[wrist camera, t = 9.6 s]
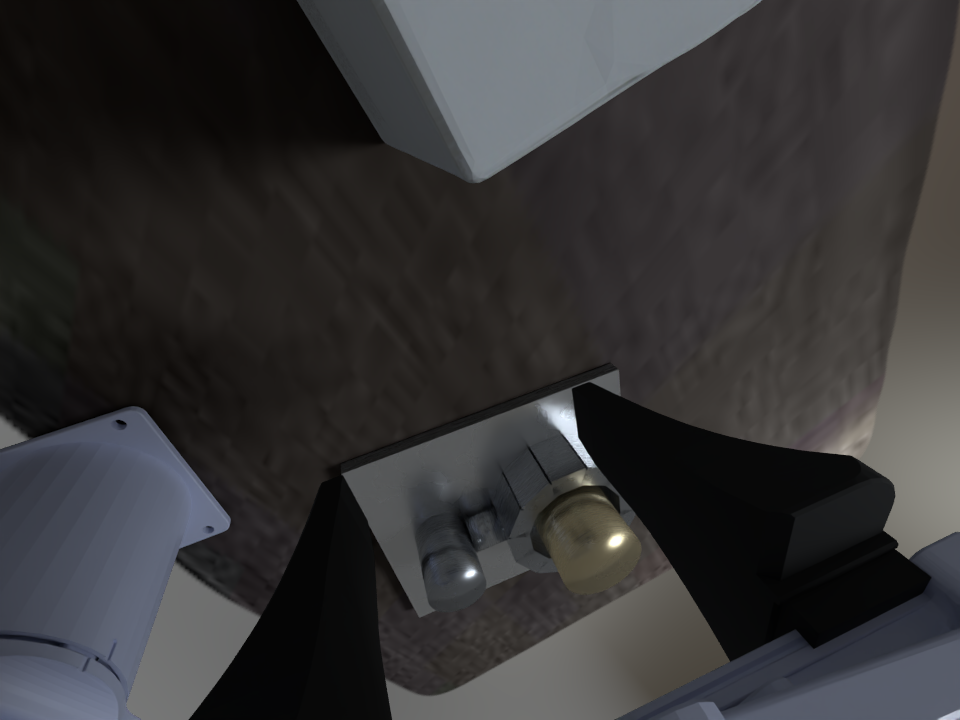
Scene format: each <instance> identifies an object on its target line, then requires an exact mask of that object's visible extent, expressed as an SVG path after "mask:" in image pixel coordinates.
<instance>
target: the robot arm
mask: <svg viewBox="0 0 960 720" xmlns="http://www.w3.org/2000/svg"><path fill="white" fill-rule="evenodd" d="M572 395H573V403H574V410H575V417H576V425H577V432H578V438H579V440H580V441H581V443H582V445H583V446H584V448H585V449H586V451H587V453H588V454H589V456H590V457H591V459H592V460H593V462H594V464H595V465H596V466H597V467H598V469H599V470H600V471H601V472H602V474H603V475H604V476H605V477H606V478H607V480H608V481H609V482H610V483H611V485H612V486H613V487H614V488H615V489H616V491H617V492H618V493H619V494H620V495H621V497H622V498H623V499H624V500H625V501H626V503H627V504H628V505H629V506H630V507H631V509H632V510H633V511H634V512H635V514H636V515H637V516H638V517H639V518H640V520H641V521H642V522H643V524H644V525H645V526H646V528H647V529H648V530H649V532H650V533H651V535H652V536H653V538H654V539H655V541H656V542H657V544H658V545H659V547H660V548H661V550H662V551H663V553H664V554H665V555H666V557H667V558H668V560H669V562H670V563H671V565H672V566H673V568H674V569H675V571H676V572H677V574H678V575H679V577H680V579H681V580H682V582H683V583H684V585H685V586H686V588H687V590H688V591H689V593H690V595H691V596H692V598H693V599H694V601H695V603H696V604H697V606H698V608H699V609H700V611H701V613H702V614H703V616H704V617H705V619H706V621H707V622H708V624H709V626H710V627H711V629H712V631H713V633H714V634H715V636H716V638H717V639H718V641H719V642H720V645H721V646H722V648H723V650H724V651H725V653H726V655H727V657H728V658H729V660H730V662H729V663H727V664H725V665H723V666H721V667H719V668H717V669H715V670H713V671H711V672H710V673H707V674H705V675H703V676H701V677H699V678H697V679H695V680H693V681H691V682H689V683H687V684H685V685H683V686H681V687H679V688H677V689H675V690H673V691H671V692H669V693H667V694H665V695H663V696H661V697H659V698H657V699H655V700H653V701H651V702H649V703H647V704H645V705H643V706H641V707H639V708H637V709H635V710H633V711H631V712H629V713H627V714H625V715H623V716H622V717H619V718H617V719H615V720H960V532H955V533H953V534H951V535H949V536H946V537H944V538H943V539H941V540H938V541H936V542H934V543H932V544H930V545H928V546H926V547H924V548H922V549H921V550H919V551H918V552H916V553H915V554H914V555H913V556H912V557H911V558H910V559H909V560H908V559H907V558H906V557H904V556H903V555H902V554H901V553H899V552H898V551H897V550H895V548H897V547H898V543H897V541H896V540H895V539H894V538H893V537H891V536H890V535H889V534H887V533H886V532H884V531H883V528H884V526H885V523H886V521H887V518H888V516H889V513H890V511H891V509H892V506H893V503H894V499H895V491H894V485H893V484H892V482H891V481H890V480H889V479H887V478H886V477H884V476H882V475H881V474H879V473H877V472H876V471H875V470H873V469H872V468H870V467H868V466H867V465H865V464H864V463H862V462H861V461H859V460H858V459H856V458H854V457H853V456H849V455H839V454H830V453H820V452H810V451H802V450H795V449H789V448H783V447H776V446H771V445H766V444H760V443H755V442H751V441H746V440H742V439H738V438H733V437H729V436H725V435H722V434H718V433H714V432H711V431H708V430H704V429H701V428H698V427H694V426H691V425H688V424H685V423H683V422H680V421H677V420H675V419H672V418H669V417H667V416H664V415H661V414H659V413H657V412H654V411H652V410H649V409H647V408H645V407H642V406H640V405H638V404H636V403H633V402H631V401H629V400H627V399H625V398H623V397H621V396H619V395H616V394H614V393H612V392H610V391H608V390H606V389H604V388H602V387H600V386H598V385H596V384H593V383H591V382H587V383H585V384H582V385H579V386H577V387H574V388H572ZM116 420H122V421H124V422H125V423H126V425H121V424H118V423H117V422H116ZM230 521H231V519H230V517H229V516H228V514H227V513H226V512H225V511H224V509H223V508H222V507H221V505H220V504H219V503H218V502H217V500H216V499H215V498H214V497H213V495H212V494H211V493H210V492H209V490H208V489H207V488H206V487H205V485H204V484H203V483H202V481H201V480H200V479H199V478H198V476H197V475H196V474H195V473H194V471H193V470H192V469H191V468H190V466H189V465H188V464H187V462H186V461H185V460H184V459H183V457H182V456H181V455H180V454H179V452H178V451H177V450H176V449H175V447H174V446H173V445H172V443H171V442H170V441H169V440H168V438H167V437H166V436H165V435H164V433H163V432H162V431H161V430H160V428H159V427H158V426H157V424H156V423H155V422H154V421H153V419H152V418H151V417H150V416H149V414H148V413H147V412H146V411H145V410H144V409H142V408H140V407H135V406H131V407H126V408H123V409H120V410H117V411H114V412H111V413H108V414H105V415H102V416H99V417H96V418H93V419H90V420H87V421H84V422H81V423H78V424H75V425H72V426H69V427H66V428H63V429H60V430H57V431H54V432H51V433H48V434H45V435H42V436H39V437H36V438H33V439H30V440H27V441H24V442H21V443H18V444H15V445H12V446H9V447H6V448H3V449H0V720H141V719H140V718H139V717H137V716H135V715H133V714H132V713H131V712H129V710H128V709H127V707H126V703H127V700H128V697H129V694H130V691H131V688H132V685H133V682H134V679H135V676H136V674H137V671H138V668H139V665H140V662H141V659H142V656H143V653H144V650H145V647H146V644H147V641H148V638H149V635H150V632H151V629H152V627H153V624H154V621H155V618H156V614H157V612H158V609H159V606H160V603H161V600H162V597H163V594H164V591H165V588H166V585H167V582H168V579H169V577H170V573H171V571H172V568H173V565H174V562H175V559H176V556H177V553H178V550H179V548H182V547H185V546H187V545H190V544H192V543H195V542H198V541H200V540H203V539H205V538H208V537H211V536H213V535H216V534H219V533H221V532H224V531H226V530H227V529H228V528H229V526H230ZM206 526H212V527H211V528H208V527H206ZM189 720H392V717H391V711H390V705H389V699H388V693H387V688H386V681H385V675H384V668H383V662H382V656H381V649H380V640H379V629H378V611H377V594H376V576H375V561H374V551H373V545H372V539H371V534H370V529H369V524H368V520H367V518H366V516H365V515H364V513H363V511H362V509H361V507H360V505H359V504H358V502H357V500H356V498H355V496H354V494H353V492H352V491H351V489H350V487H349V485H348V483H347V481H346V480H345V478H344V476H343V475H341V476H338V477H336V478H333V479H330V480H328V481H325V482H323V483H322V484H321V485H320V487H319V490H318V493H317V496H316V498H315V501H314V504H313V507H312V509H311V512H310V514H309V517H308V520H307V522H306V525H305V527H304V530H303V532H302V534H301V537H300V539H299V542H298V544H297V546H296V549H295V551H294V553H293V555H292V558H291V560H290V562H289V564H288V566H287V568H286V570H285V572H284V574H283V576H282V579H281V581H280V583H279V585H278V586H277V588H276V590H275V592H274V594H273V596H272V598H271V600H270V601H269V603H268V605H267V607H266V609H265V610H264V612H263V614H262V616H261V617H260V619H259V621H258V622H257V624H256V626H255V627H254V629H253V631H252V632H251V634H250V635H249V637H248V638H247V640H246V641H245V643H244V644H243V646H242V647H241V649H240V650H239V652H238V653H237V655H236V656H235V658H234V660H233V661H232V663H231V664H230V665H229V667H228V668H227V670H226V671H225V673H224V674H223V675H222V677H221V678H220V679H219V681H218V682H217V684H216V685H215V686H214V688H213V689H212V690H211V691H210V693H209V694H208V695H207V697H206V698H205V699H204V701H203V702H202V703H201V705H200V706H199V707H198V709H197V710H196V711H195V712H194V714H193V715H192V716H191V717H190V719H189Z"/></svg>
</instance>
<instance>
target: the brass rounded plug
mask: <svg viewBox="0 0 960 720" xmlns="http://www.w3.org/2000/svg"><path fill="white" fill-rule="evenodd" d="M534 525H535V527H536V529H537V531H538V533H539V535H540V537H541V539H542V541H543V543H544V545H545V547H546V548H547V550H548V552H549V554H550V556H551V558H552V560H553V562H554V564H555V566H556V568H557V570H558V572H559V574H560V576H561V578H562V580H563V582H564V584H565V586H566V587H567V588H568V589H569V590H570V591H571V592H573V593H576V594H582V595H587V594H594V593H598V592H601V591H604V590H606V589H609V588H610V587H612V586H614V585H616V584H617V583H619V582H620V581H621V580H623V579H624V578H625V577H626V576H627V575H628V574H629V573H630V572H631V571H632V570H633V568H634V567H635V566H636V564H637V562H638V560H639V558H640V554H641V544H640V541H639V540H638V538H637V537H636V536H635V534H634V533H633V532H632V530H631V529H630V528H629V526H628V525H627V524H626V522H625V521H624V520H623V518H622V517H621V516H620V514H619V513H618V512H617V510H616V509H615V508H614V506H613V505H612V504H611V502H610V501H609V500H608V498H607V497H606V496H605V494H604V493H603V492H602V490H601V489H600V488H599V486H598V485H583V486H580V487H578V488H575V489H573V490H571V491H568V492H566V493H563V494H561V495H558V496H557V497H556V498H555V499H554V500H553V501H552V502H551V503H550V504H549V505H547V506H546V507H545V508H544V509H543V510H542V511H541V512H540V513H539V514H538V516H537V518H536V520H535V523H534Z"/></svg>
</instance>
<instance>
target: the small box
mask: <svg viewBox="0 0 960 720" xmlns="http://www.w3.org/2000/svg"><path fill="white" fill-rule="evenodd" d="M760 1H762V0H297V2H298V3H299V5H300V6H301V8H302V10H303V11H304V13H305V15H306V16H307V18H308V19H309V21H310V23H311V24H312V26H313V28H314V29H315V31H316V32H317V34H318V36H319V37H320V39H321V41H322V42H323V44H324V46H325V47H326V49H327V50H328V52H329V54H330V55H331V57H332V59H333V60H334V62H335V63H336V65H337V67H338V68H339V70H340V72H341V73H342V75H343V77H344V78H345V80H346V81H347V83H348V85H349V86H350V88H351V90H352V91H353V93H354V94H355V96H356V98H357V99H358V101H359V103H360V104H361V106H362V108H363V109H364V111H365V112H366V114H367V116H368V117H369V119H370V121H371V122H372V124H373V126H374V127H375V129H376V130H377V132H378V134H379V135H380V137H381V139H382V140H383V141H384V142H385V143H386V144H388V145H390V146H392V147H394V148H396V149H399V150H401V151H403V152H406V153H408V154H410V155H413V156H414V157H417V158H419V159H421V160H423V161H425V162H428V163H430V164H432V165H434V166H437V167H439V168H441V169H443V170H445V171H447V172H449V173H452V174H454V175H456V176H458V177H460V178H461V179H463V180H465V181H467V182H468V183H479V182H481V181H484V180H486V179H488V178H490V177H491V176H493V175H494V174H496V173H497V172H499V171H500V170H502V169H504V168H505V167H507V166H508V165H510V164H512V163H513V162H515V161H517V160H518V159H520V158H521V157H523V156H524V155H526V154H528V153H529V152H531V151H532V150H534V149H535V148H537V147H538V146H540V145H541V144H543V143H545V142H546V141H548V140H549V139H551V138H552V137H554V136H555V135H557V134H559V133H560V132H562V131H563V130H565V129H566V128H568V127H569V126H571V125H573V124H574V123H576V122H577V121H579V120H580V119H581V118H583V117H584V116H586V115H587V114H589V113H590V112H592V111H593V110H595V109H596V108H598V107H599V106H601V105H603V104H604V103H606V102H607V101H609V100H610V99H612V98H614V97H615V96H617V95H618V94H620V93H621V92H623V91H624V90H626V89H627V88H629V87H630V86H632V85H633V84H635V83H636V82H638V81H640V80H641V79H643V78H644V77H646V76H647V75H649V74H651V73H652V72H654V71H655V70H657V69H658V68H660V67H661V66H663V65H665V64H666V63H668V62H670V61H672V60H673V59H675V58H677V57H678V56H680V55H682V54H684V53H685V52H687V51H689V50H690V49H692V48H694V47H695V46H697V45H698V44H700V43H702V42H703V41H705V40H706V39H708V38H709V37H711V36H712V35H714V34H715V33H716V32H718V31H719V30H721V29H722V28H724V27H725V26H727V25H728V24H729V23H731V22H732V21H733V20H734V19H736V18H737V17H739V16H741V15H742V14H744V13H746V12H747V11H748V10H750V9H751V8H752V7H754V6H755V5H757V4H758V3H759V2H760Z"/></svg>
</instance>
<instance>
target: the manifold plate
mask: <svg viewBox="0 0 960 720" xmlns="http://www.w3.org/2000/svg"><path fill="white" fill-rule="evenodd" d="M587 382H591V383H593V384H596V385H598V386H600V387H602V388H604V389H606V390H608V391H610V392H612V393H614V394H616V395H619V396H620V381H619V369H618V368H616V367H615V366H614V365H613V364H612V363H609V364H607V365H604V366H601V367H599V368H596V369H593V370H591V371H588V372H585V373H583V374H580V375H577V376H575V377H572V378H569V379H567V380H564V381H561V382H559V383H556V384H553V385H551V386H548V387H545V388H543V389H540V390H537V391H535V392H532V393H529V394H527V395H524V396H521V397H518V398H516V399H513V400H510V401H508V402H505V403H502V404H500V405H497V406H494V407H492V408H489V409H486V410H484V411H481V412H478V413H476V414H473V415H470V416H468V417H465V418H462V419H460V420H457V421H454V422H452V423H449V424H446V425H444V426H441V427H438V428H436V429H433V430H430V431H428V432H425V433H422V434H420V435H417V436H414V437H412V438H409V439H406V440H404V441H401V442H398V443H395V444H393V445H390V446H387V447H385V448H382V449H379V450H377V451H374V452H371V453H369V454H366V455H363V456H361V457H358V458H355V459H353V460H350V461H347V462H345V463H342V464H341V475H343V476H344V478H345V480H346V481H347V483H348V485H349V487H350V489H351V491H352V492H353V494H354V496H355V498H356V500H357V502H358V504H359V505H360V507H361V509H362V511H363V513H364V515H365V516H366V518H367V520H368V524H369V526H370V528H371V530H372V532H373V533H374V535H375V537H376V539H377V541H378V543H379V544H380V546H381V548H382V550H383V552H384V554H385V555H386V557H387V559H388V561H389V563H390V565H391V567H392V568H393V570H394V572H395V574H396V576H397V578H398V579H399V581H400V583H401V585H402V587H403V589H404V590H405V592H406V594H407V596H408V598H409V600H410V601H411V603H412V605H413V607H414V609H415V611H416V612H417V614H418V616H419V618H420V617H422V616H424V615H426V614H429V613H431V612H433V611H440V612H454V611H458V610H461V609H464V608H466V607H468V606H470V605H472V604H473V603H474V602H476V601H477V600H478V599H479V598H480V597H481V596H482V594H483V593H484V591H485V589H486V588H489V587H491V586H493V585H495V584H498V583H500V582H502V581H505V580H507V579H509V578H512V577H514V576H516V575H519V574H521V573H523V572H525V571H528V570H532V571H534V572H536V573H537V572H538V573H547V572H558V570H557V568H556V566H555V564H554V562H553V560H552V558H551V556H550V554H549V552H548V550H547V548H546V547H545V545H544V543H543V541H542V539H541V537H540V535H539V533H538V531H537V529H536V527H535V525H534V523H535V520H536V518H537V516H538V514H539V513H540V512H541V511H542V510H543V509H544V508H545V507H546V506H547V505H549V504H550V503H551V502H552V501H553V500H554V499H555V498H556V497H557V496H558V495H561V494H563V493H566V492H568V491H571V490H573V489H575V488H578V487H580V486H583V485H598V486H599V488H600V489H601V490H602V492H603V493H604V494H605V496H606V497H607V498H608V500H609V501H610V502H611V504H612V505H613V506H614V508H615V509H616V510H617V512H618V513H619V514H620V516H621V517H622V518H623V520H624V521H625V522H626V524H627V525H628V526H630V524H631V522H632V520H633V518H634V517H635V515H636V514H635V512H634V511H633V510H632V509H631V507H630V506H629V505H628V504H627V503H626V501H625V500H624V499H623V498H622V497H621V495H620V494H619V493H618V492H617V491H616V489H615V488H614V487H613V486H612V485H611V483H610V482H609V481H608V480H607V478H606V477H605V476H604V475H603V474H602V472H601V471H600V470H599V469H598V467H597V466H596V465H595V464H594V462H593V460H592V459H591V457H590V456H589V454H588V453H587V451H586V449H585V448H584V446H583V445H582V443H581V441H580V440H579V438H578V432H577V425H576V417H575V410H574V403H573V395H572V388H574V387H577V386H579V385H582V384H585V383H587Z"/></svg>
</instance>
